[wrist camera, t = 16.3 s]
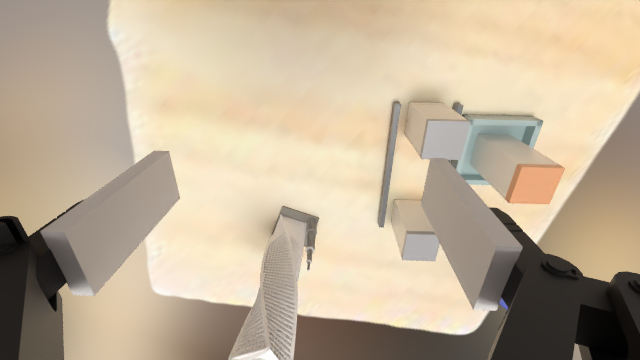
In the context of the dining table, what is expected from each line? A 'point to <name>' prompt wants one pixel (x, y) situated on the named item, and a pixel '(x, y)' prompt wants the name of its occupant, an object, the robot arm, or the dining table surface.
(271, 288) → the skyscraper
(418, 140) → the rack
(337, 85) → the dining table surface
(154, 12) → the dining table surface
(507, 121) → the tray
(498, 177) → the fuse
